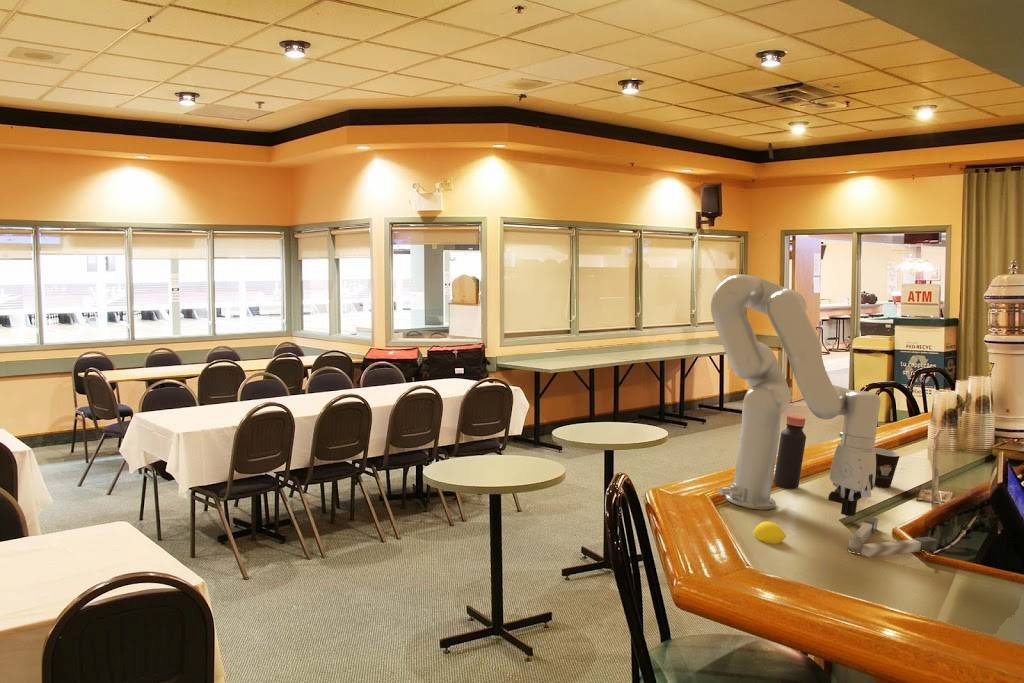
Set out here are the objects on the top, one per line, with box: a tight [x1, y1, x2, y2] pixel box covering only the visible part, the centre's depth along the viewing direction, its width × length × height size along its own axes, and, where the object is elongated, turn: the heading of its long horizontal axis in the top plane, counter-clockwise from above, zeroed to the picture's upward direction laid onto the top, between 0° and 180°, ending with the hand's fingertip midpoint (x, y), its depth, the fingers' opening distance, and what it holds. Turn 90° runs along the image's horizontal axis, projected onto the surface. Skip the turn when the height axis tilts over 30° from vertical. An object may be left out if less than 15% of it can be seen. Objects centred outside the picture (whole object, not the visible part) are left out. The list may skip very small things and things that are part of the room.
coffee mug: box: [874, 447, 901, 489], centre depth 245 cm, size 12×9×10 cm
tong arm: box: [851, 515, 879, 544], centre depth 190 cm, size 18×2×3 cm, turn 146°
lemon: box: [753, 520, 787, 545], centre depth 181 cm, size 7×5×5 cm
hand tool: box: [828, 487, 843, 504], centre depth 226 cm, size 19×4×5 cm, turn 146°
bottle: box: [773, 414, 807, 490], centre depth 231 cm, size 7×7×20 cm
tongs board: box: [847, 536, 938, 558], centre depth 187 cm, size 28×20×4 cm
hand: (848, 514), depth 201 cm, fingers closed
